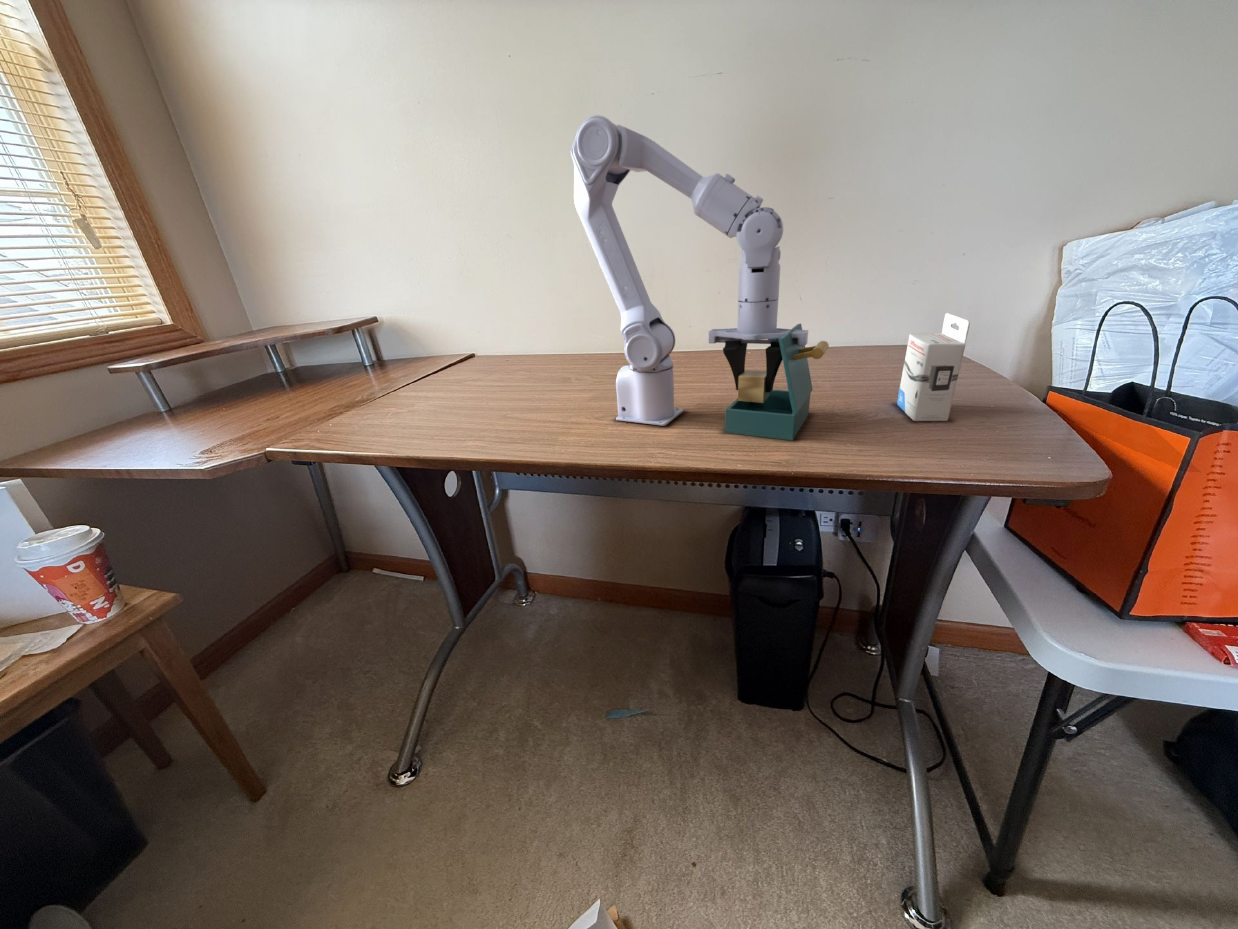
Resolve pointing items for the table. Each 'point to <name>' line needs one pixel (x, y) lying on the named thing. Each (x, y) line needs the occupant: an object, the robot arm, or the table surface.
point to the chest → (766, 417)
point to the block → (752, 386)
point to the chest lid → (799, 367)
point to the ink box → (932, 371)
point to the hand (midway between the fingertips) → (754, 389)
